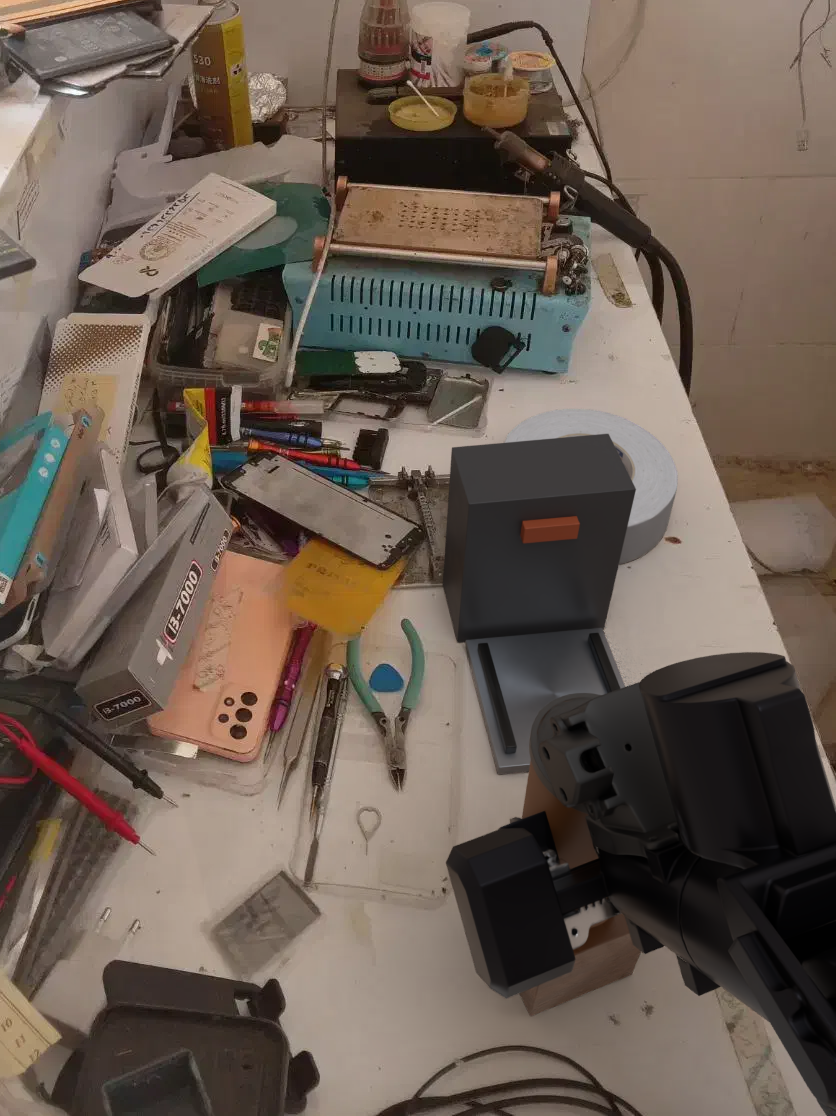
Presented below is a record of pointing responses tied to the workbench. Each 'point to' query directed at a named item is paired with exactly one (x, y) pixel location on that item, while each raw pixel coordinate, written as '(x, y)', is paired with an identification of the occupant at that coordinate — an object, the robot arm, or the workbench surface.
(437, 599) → the workbench surface
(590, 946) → the brown cube
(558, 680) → the drip pan
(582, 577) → the coffee maker
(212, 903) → the workbench surface
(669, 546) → the workbench surface
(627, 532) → the tape roll
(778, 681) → the robot arm
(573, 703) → the carafe
